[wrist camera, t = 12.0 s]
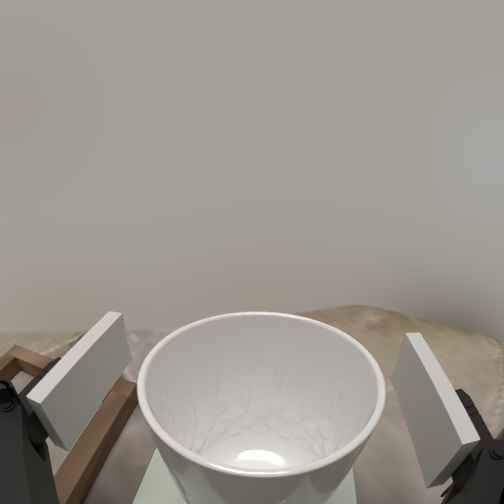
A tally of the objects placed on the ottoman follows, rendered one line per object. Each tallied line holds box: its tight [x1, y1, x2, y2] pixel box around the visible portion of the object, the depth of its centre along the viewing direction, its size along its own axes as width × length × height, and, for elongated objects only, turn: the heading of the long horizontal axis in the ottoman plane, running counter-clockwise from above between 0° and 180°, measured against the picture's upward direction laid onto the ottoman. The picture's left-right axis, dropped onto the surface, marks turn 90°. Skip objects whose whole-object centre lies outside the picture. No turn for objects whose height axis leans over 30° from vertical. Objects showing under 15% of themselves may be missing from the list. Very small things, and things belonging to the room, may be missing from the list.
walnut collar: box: [0, 345, 138, 504], centre depth 14 cm, size 14×14×2 cm
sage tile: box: [133, 448, 357, 504], centre depth 12 cm, size 12×12×1 cm
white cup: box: [137, 312, 386, 504], centre depth 11 cm, size 8×8×10 cm
